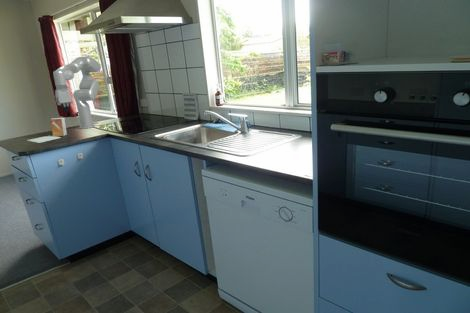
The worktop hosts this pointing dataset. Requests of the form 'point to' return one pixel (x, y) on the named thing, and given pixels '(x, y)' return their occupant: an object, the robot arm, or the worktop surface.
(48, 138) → the mat
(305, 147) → the worktop surface
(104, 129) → the worktop surface
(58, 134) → the small box
